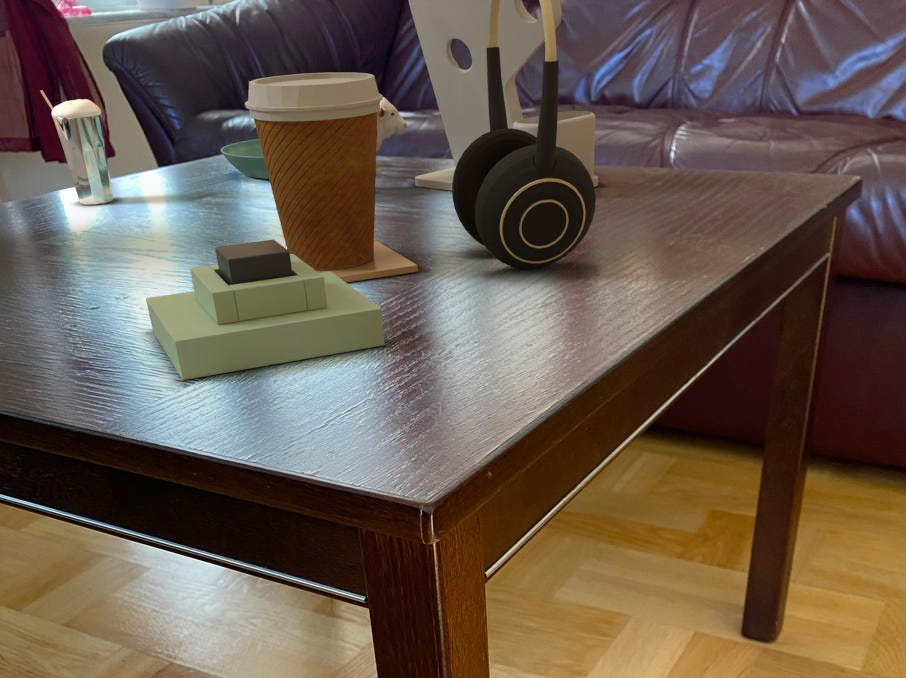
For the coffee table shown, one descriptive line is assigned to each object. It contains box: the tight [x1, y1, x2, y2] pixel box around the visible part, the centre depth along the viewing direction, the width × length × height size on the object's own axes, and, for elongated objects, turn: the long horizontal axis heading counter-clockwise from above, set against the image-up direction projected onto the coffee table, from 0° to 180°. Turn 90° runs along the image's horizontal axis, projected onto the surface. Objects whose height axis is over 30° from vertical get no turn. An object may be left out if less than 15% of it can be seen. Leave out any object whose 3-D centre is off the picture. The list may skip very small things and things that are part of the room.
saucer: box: [220, 138, 269, 180], centre depth 113 cm, size 15×15×3 cm
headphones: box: [451, 0, 597, 270], centre depth 71 cm, size 9×15×20 cm, turn 14°
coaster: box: [315, 239, 419, 283], centre depth 77 cm, size 10×10×1 cm
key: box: [214, 239, 293, 286], centre depth 60 cm, size 4×4×2 cm
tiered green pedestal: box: [145, 254, 386, 381], centre depth 61 cm, size 10×12×4 cm
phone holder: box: [408, 0, 599, 192], centre depth 97 cm, size 17×10×18 cm, turn 49°
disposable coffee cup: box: [244, 71, 384, 270], centre depth 73 cm, size 10×10×12 cm
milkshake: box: [39, 89, 114, 206], centre depth 100 cm, size 5×5×10 cm
